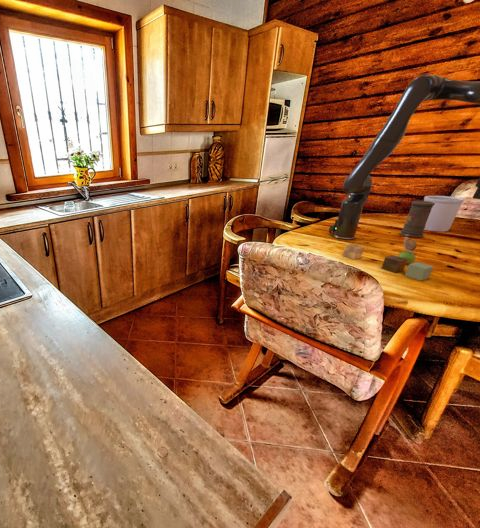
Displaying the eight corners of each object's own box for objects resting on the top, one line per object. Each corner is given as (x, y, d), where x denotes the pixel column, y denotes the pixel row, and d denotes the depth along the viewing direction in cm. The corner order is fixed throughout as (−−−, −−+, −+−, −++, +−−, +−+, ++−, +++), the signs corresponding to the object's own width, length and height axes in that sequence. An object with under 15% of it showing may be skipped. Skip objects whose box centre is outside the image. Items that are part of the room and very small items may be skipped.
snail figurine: (404, 260, 122) (413, 233, 117) (416, 265, 116) (427, 238, 111) (390, 260, 122) (399, 234, 118) (402, 265, 116) (412, 238, 112)
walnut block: (381, 268, 115) (385, 257, 113) (389, 266, 117) (393, 255, 115) (395, 272, 111) (399, 261, 109) (403, 270, 113) (407, 259, 111)
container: (420, 234, 151) (432, 201, 144) (424, 238, 144) (438, 204, 137) (398, 232, 156) (409, 200, 149) (401, 236, 149) (413, 203, 142)
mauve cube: (342, 255, 129) (345, 245, 127) (349, 254, 131) (352, 244, 129) (353, 259, 125) (356, 249, 123) (361, 257, 127) (364, 247, 125)
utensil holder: (427, 224, 167) (438, 194, 160) (458, 230, 153) (472, 198, 146) (406, 226, 165) (417, 196, 158) (436, 233, 151) (449, 201, 144)
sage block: (404, 275, 109) (409, 264, 107) (412, 273, 110) (417, 261, 108) (420, 280, 104) (425, 268, 102) (428, 278, 106) (433, 266, 104)
